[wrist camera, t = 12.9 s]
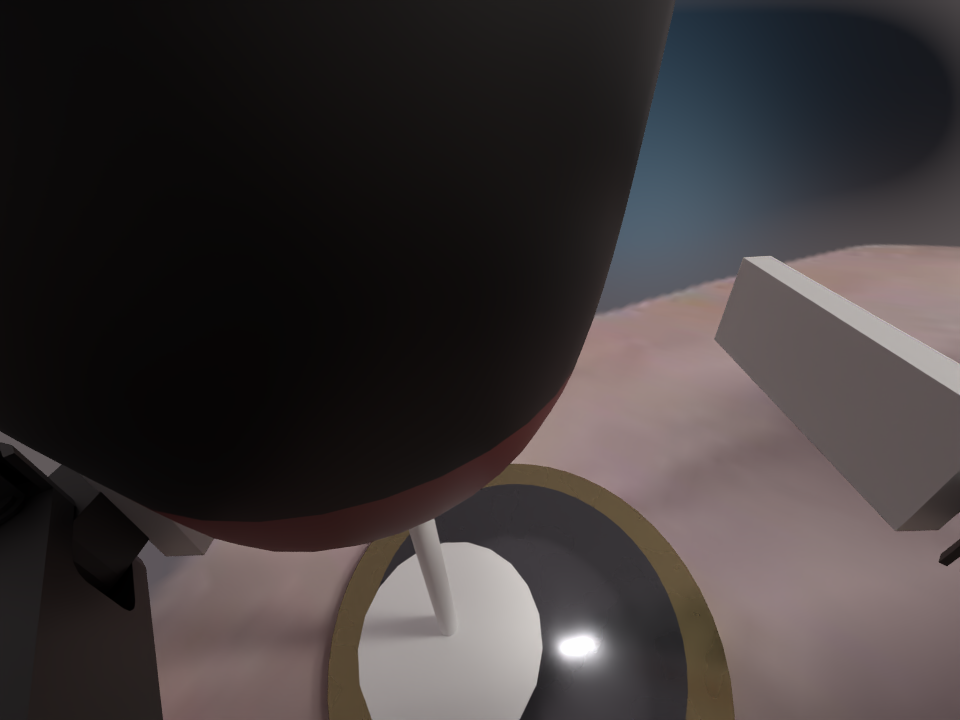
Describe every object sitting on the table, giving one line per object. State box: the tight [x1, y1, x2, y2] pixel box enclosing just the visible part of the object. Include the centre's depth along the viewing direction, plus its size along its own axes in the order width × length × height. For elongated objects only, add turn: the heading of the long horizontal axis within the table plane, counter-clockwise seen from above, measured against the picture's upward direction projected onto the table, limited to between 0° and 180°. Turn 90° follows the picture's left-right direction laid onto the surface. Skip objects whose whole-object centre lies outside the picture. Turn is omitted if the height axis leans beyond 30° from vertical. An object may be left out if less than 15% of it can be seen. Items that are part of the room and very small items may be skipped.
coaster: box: [328, 464, 734, 720], centre depth 17 cm, size 16×16×1 cm
